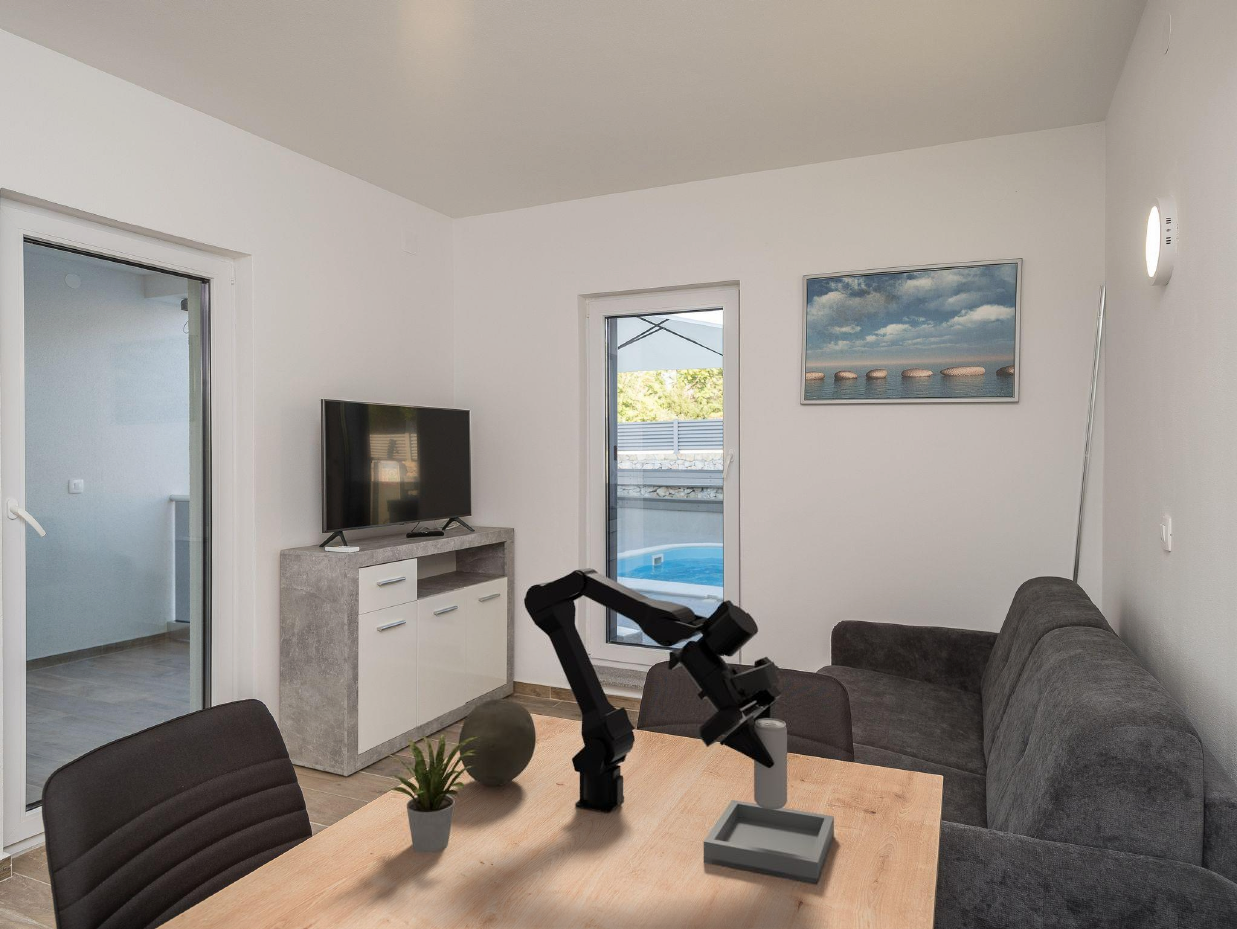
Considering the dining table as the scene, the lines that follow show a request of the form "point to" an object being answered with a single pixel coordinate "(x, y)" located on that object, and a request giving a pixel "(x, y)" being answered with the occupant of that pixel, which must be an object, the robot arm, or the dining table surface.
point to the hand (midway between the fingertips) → (778, 761)
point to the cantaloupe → (497, 741)
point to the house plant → (432, 796)
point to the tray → (771, 841)
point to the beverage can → (772, 780)
